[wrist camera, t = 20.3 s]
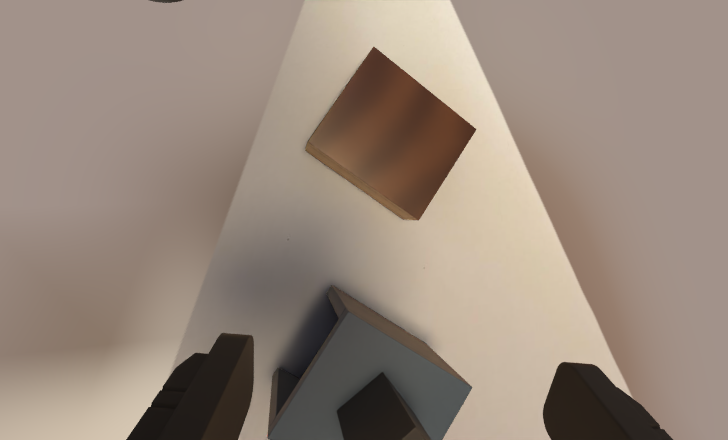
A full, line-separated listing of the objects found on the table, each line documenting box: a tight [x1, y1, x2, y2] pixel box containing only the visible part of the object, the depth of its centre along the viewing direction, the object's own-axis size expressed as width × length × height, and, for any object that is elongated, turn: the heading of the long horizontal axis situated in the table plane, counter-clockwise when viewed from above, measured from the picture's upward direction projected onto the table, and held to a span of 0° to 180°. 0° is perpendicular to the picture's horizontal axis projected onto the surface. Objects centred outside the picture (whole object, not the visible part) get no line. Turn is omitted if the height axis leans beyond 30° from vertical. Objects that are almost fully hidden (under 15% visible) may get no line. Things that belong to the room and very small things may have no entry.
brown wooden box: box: [305, 47, 476, 220], centre depth 39 cm, size 14×12×5 cm
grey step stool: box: [268, 285, 472, 440], centre depth 36 cm, size 14×12×11 cm
